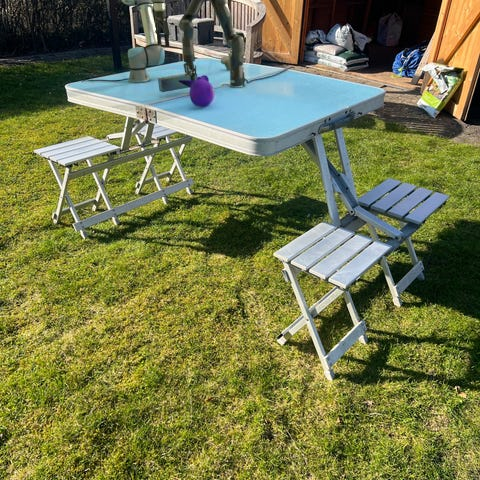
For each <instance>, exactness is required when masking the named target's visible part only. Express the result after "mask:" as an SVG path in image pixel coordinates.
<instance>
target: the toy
mask: <svg viewBox="0 0 480 480" xmlns="http://www.w3.org/2000/svg"><path fill="white" fill-rule="evenodd" d="M209 81H210V80H209V77H208V76H207V75H206V74H204V75H200V76H197V80H196V81H191V80H179V82H180V83H182V84H184V85H186V86H188V87H190V89H189V99H190V101H191V103H192V104H193V105H194V106H196V107H199V108H206V107H209V105H211V104H212V102H213V101H214V99H215V97H216V96H215V95H216V94H215V88H214V85H213V84H212V83H211V82H209Z"/></svg>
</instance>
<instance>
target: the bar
mask: <svg viewBox="0 0 480 480" xmlns="http://www.w3.org/2000/svg"><path fill="white" fill-rule="evenodd" d="M197 78H198V73H197V72H196V75H195V81H196V80H197ZM179 80H191V73H187V74H186V73H182V74H175V75H169V76H163V77H157V84H158V91H159V92H160V93H167V92H173V91H178V90H184V89H189V88H190V87H188V86H186V85H184V84H182V83H180V82H179Z"/></svg>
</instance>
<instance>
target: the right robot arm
mask: <svg viewBox="0 0 480 480" xmlns="http://www.w3.org/2000/svg"><path fill="white" fill-rule="evenodd" d="M205 1H206V0H191V1H190V3H189V5H188V7H187V9H186V11H185V12H184V14H183V15H182V17H181V18H180V20H179V22H178V28H179V30H180V31H181V32H183V36H182V37H181V46H182V49H181V50H182V59H183V62H184V63H183V69H184V74H187V73H191V81H195V75H196V73H197V65H195V64H194V62H195V61H196V57H195V55H196V53H195V47H194V31H195V30H194V23H193V21H194V20H195V19H196V18H197V17H198V15H199V13H200V11H201V9H202V7H203V5H204V3H205ZM209 2H210V3H211V6H212V9H213V11H214V13H215V16H216V17H217V20H218V22H219V25H220V27H221V30H222V31H223V34H224V38H225V41H226V44H227V46H228V48H230V49H231V50H232V55H231V56H230V70H229V82H230V83H229V86H230V88H243V87H245V86H246V85H245V83H246V84H249V83H252V82H255V81H260V80H264V79H269V78H272V77H275V76H277V75H280V74H282V73H284V72H285V71H287V70H290V69H294V70H296V68H295V66H290V67H287V68H285V69H283V70H281V71H279V72H277V73H275V74H272V75H268V76H265V77H259V78H253V79H251V80H249V81H248V79H246V77H245V71H244V61H243V57H244V56H245V39H244V37H243V36H241V35H239V34H237V33H236V31H235V29H234V26H233V21H232V13H231V10H230V8H229V5H228V2H227V1H226V0H209ZM244 58H245V57H244Z"/></svg>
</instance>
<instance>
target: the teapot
mask: <svg viewBox="0 0 480 480" xmlns="http://www.w3.org/2000/svg"><path fill="white" fill-rule="evenodd" d="M227 55H228V56H223V57H221V59H220V63H221V64H222V65H224V67H225V68H226V70H229V71H230V56H231V55H232V49H231V50H229V53H228V54H227ZM244 60H245V57H243V62H244Z"/></svg>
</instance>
